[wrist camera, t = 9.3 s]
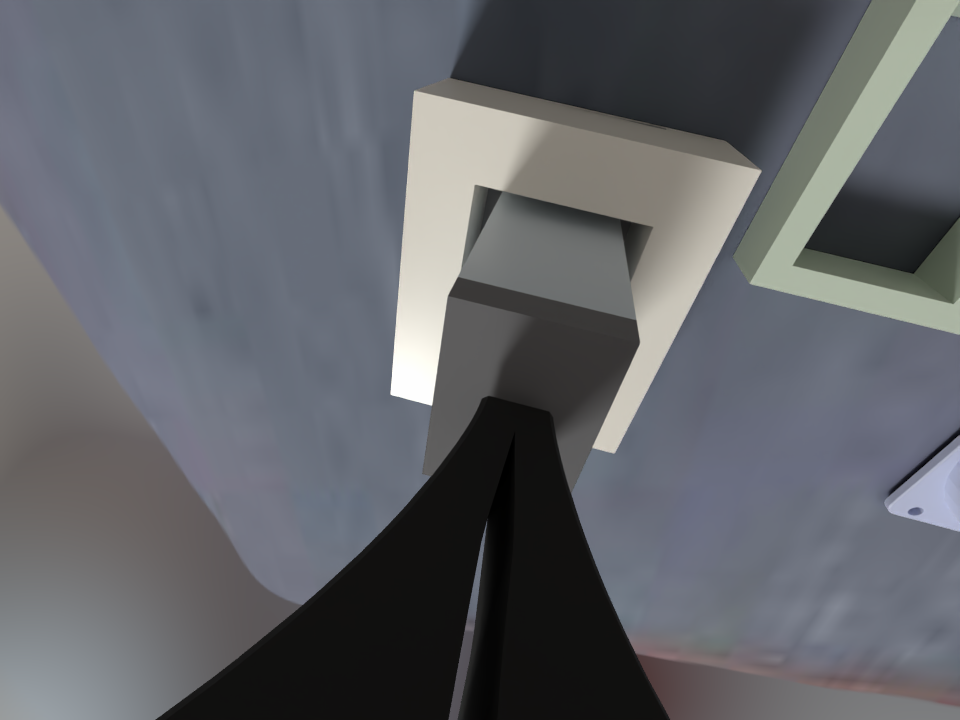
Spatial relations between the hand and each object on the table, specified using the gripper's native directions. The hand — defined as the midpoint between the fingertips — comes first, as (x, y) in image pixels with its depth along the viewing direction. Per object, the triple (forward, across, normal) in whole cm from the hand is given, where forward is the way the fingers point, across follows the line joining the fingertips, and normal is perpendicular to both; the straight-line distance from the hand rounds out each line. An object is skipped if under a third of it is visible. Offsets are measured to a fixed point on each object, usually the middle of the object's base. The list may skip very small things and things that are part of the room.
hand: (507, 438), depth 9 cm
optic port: (+9, 0, 0) cm, 9 cm away
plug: (+8, 0, 0) cm, 9 cm away
